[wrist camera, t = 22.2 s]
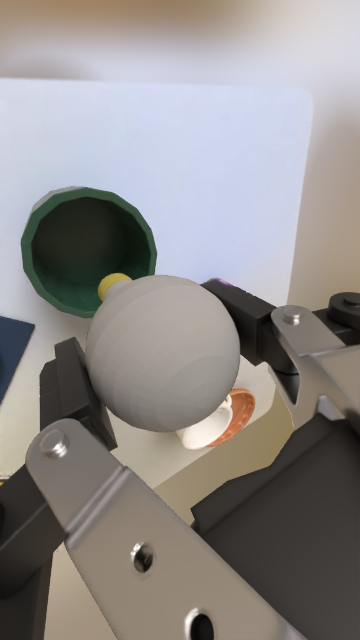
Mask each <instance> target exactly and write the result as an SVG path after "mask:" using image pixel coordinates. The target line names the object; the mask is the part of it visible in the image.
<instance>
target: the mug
mask: <svg viewBox="0 0 360 640" xmlns="http://www.w3.org/2000/svg"><path fill="white" fill-rule="evenodd" d="M226 399H227V402H226V401H225V400H224V402H223V403H222V404H221V405H220V406H219V407H218V408H217V410H215V411H214V412H213V413H212V414H211V415H210V416H208V417H207V418H205V419H204V420H202V421H201V422H199V423H197V424H195V425H192V426H190V427H187V428H184V429H181V430H177V431H175V432H176V433H177V435H178V437H179V439H180V441H181V442H182V444H183V446H184V447H185V448H187V449H189V450H196V449H200V448H203V447H205V446H207V445H209V444H211V443H212V442H214V441H215V440H216V439H218V438H219V437H220V436H221V435H222V434H223V433H224V431H225V430H226V429H227V427H228V426H229V424H230V422H231V420H232V415H233V412H232V409H231V407H230V406H231V404H232V399H231V397H230V395H229V394H228V396H227V397H226Z"/></svg>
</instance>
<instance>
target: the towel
mask: <svg viewBox="0 0 360 640" xmlns="http://www.w3.org/2000/svg"><path fill="white" fill-rule="evenodd" d="M34 326H35V325H34V324H30V323H26V322H22V321H18V320H14V319H10V318H6V317H2V316H0V361H1V372H0V403H1V401H2V399H3V397H4V394H5V392H6V390H7V388H8V385H9V383H10V381H11V379H12V376H13V374H14V372H15V369H16V367H17V365H18V363H19V360H20V358H21V356H22V354H23V351H24V349H25V347H26V345H27V342H28V340H29V338H30V335H31V333H32V331H33V329H34Z"/></svg>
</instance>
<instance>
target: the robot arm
mask: <svg viewBox="0 0 360 640" xmlns="http://www.w3.org/2000/svg"><path fill="white" fill-rule="evenodd" d="M200 286H202V287H203V288H205V289H206V290H208V291H209V292H211V293H212V294H213V295H215V296H216V297H217V298H218V299H219V300H220V301H221V302H222V304H223V305H224V307H225V308H226V310H227V311H228V313H229V315H230V316H231V318H232V320H233V322H234V324H235V327H236V330H237V333H238V337H239V342H240V354H241V355H242V356H243V357H244V358H246V359H247V360H248V361H249V362H250V363H252V364H253V365H254V366H257V365H259V364H260V363H262V362H264V361H265V362H267V363H268V372H269V374H270V376H271V378H272V379H273V381H274V383H275V385H276V387H277V389H278V391H279V392H280V394H281V396H282V398H283V400H284V402H285V403H286V405H287V407H288V409H289V411H290V414H291V417H292V422H293V427H294V432H293V433H292V435H291V436H290V438H289V439H288V441H287V442H286V444H285V445H284V447H283V448H282V450H281V451H280V453H279V454H278V456H277V457H276V459H275V460H274V462H273V463H272V464H271V465H270V466H268V467H266V468H263V469H260V470H257V471H254V472H252V473H249V474H246V475H243V476H240V477H237V478H234V479H232V480H229V481H227V482H226V483H224V484H223V485H221V486H220V487H219V488H217V489H216V490H215V491H213V492H212V493H211V494H209V495H208V496H207V497H205V498H204V499H203V500H201V501H200V502H199V503H197V504H196V505H194V506H193V507H192V508H191V512H192V514H193V516H194V519H195V520H194V522H193V523H192V524H191V526H189V525H188V524H186V523H185V522H184V521H183V520H182V519H181V518H180V517H179V516H178V515H177V514H176V513H175V512H174V511H173V510H172V509H171V508H170V507H169V506H168V505H167V504H166V503H165V502H164V501H163V500H162V499H161V498H160V497H159V496H158V495H157V494H156V493H155V492H154V491H153V490H152V489H151V488H150V487H149V486H148V485H147V484H146V483H145V482H144V481H143V480H142V479H141V478H139V477H138V476H137V475H136V474H135V473H134V472H133V471H132V470H131V469H130V468H128V467H127V466H123V465H122V464H121V463H120V462H119V461H118V460H117V459H116V458H115V457H114V456H113V455H112V454H111V453H110V451H111V450H113V449H115V448H117V447H118V445H117V442H116V439H115V436H114V432H113V429H112V426H111V422H110V419H109V416H108V413H107V409H106V406H105V405H104V404H103V403H102V402H101V401H100V399H99V398H98V397H97V395H96V393H95V392H94V389H93V387H92V384H91V381H90V378H89V375H88V372H87V368H86V363H85V353H84V351H83V350H82V348H81V346H80V344H79V342H78V341H77V339H76V338H75V337H72V338H70V339H68V340H65V341H63V342H60V343H58V344H56V345H55V356H56V359H54V360H52V361H50V362H47V363H45V365H44V367H43V369H42V371H41V373H40V396H41V397H40V433H39V434H38V435H37V436H36V437H35V438H34V440H33V441H32V443H31V444H30V446H29V448H28V451H27V454H26V458H25V464H24V465H23V466H22V467H21V468H20V469H19V470H18V471H17V472H16V473H14V474H13V475H12V476H11V477H10V478H9V479H7V480H6V481H5V482H4V483H3V484H1V485H0V640H44V631H45V622H46V612H47V604H48V594H49V586H50V577H51V568H52V558H53V552H54V551H55V550H56V549H57V548H58V547H59V546H60V544H61V543H62V542H63V541H64V544H65V547H66V550H67V552H68V554H69V556H70V558H71V560H72V561H73V563H74V565H75V567H76V568H77V570H78V572H79V573H80V575H81V577H82V579H83V581H84V582H85V584H86V586H87V587H88V589H89V591H90V593H91V594H92V596H93V598H94V600H95V601H96V603H97V605H98V607H99V608H100V610H101V612H102V614H103V615H104V617H105V619H106V620H107V622H108V624H109V626H110V627H111V629H112V631H113V633H114V634H115V636H116V638H117V640H360V294H359V293H353V292H344V293H338V294H335V295H333V296H332V297H331V298H330V301H329V305H328V308H326V309H321V310H317V311H312V312H311V311H310V310H308V309H306V308H304V307H300V306H295V305H286V306H281V307H278V308H277V307H275V306H273V305H271V304H269V303H268V302H266V301H264V300H262V299H260V298H258V297H256V296H253V295H252V294H250V293H248V292H247V293H246V291H244V290H242V289H240V288H238V287H235V286H230V285H224V284H222V283H220V282H218V281H216V280H214V279H212V280H210V281H207V282H205V283H203V284H200Z"/></svg>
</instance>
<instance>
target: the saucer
mask: <svg viewBox="0 0 360 640" xmlns="http://www.w3.org/2000/svg"><path fill="white" fill-rule="evenodd" d="M229 395H230V397H231V399H232V404H231V406H230V407H231V409H232V412H233V415H232V420H231V422H230V424H229V426H228V427H227V429H226V430H225V431H224V433H223V434H222V435H221V436H220V437H219V438H218V439H216V440H215V441H214V442H212V443H211V444H209V445H207V446H206V447H213V446H217V445H220V444H222V443H224V442H226V441H228V440H229V439H230V438H232V437H233V436H235V435H236V434H237V433H238V432H239V431H240V430H241V429H242V428H243V427H244V426H245V425H246V423H247V422H248V420H249V419H250V417H251V415H252V413H253V411H254V408H255V398H254V396H253V394H252V393H250V392H249V391H247V390H245V389H234V390H231V391H230V392H229ZM225 401H226V402H227V399H225Z"/></svg>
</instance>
